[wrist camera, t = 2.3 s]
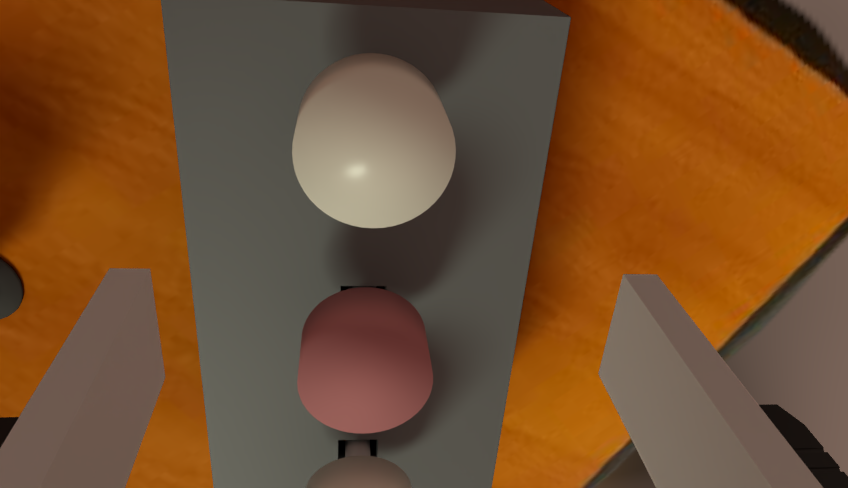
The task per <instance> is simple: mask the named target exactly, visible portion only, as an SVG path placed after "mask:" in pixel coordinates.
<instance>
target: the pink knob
mask: <svg viewBox="0 0 848 488" xmlns="http://www.w3.org/2000/svg"><path fill="white" fill-rule="evenodd" d="M348 288H349V289H347V290H343V291H340V292H338V293H335V294H333V295H331V296H329V297H328V298H326V299H325V300H323V301H322V302H320V303H319V304H318V305H317V306H316V307H315V308H314V309H313V310H312V312H311V313H310V314H309V316H308V318H307V319H306V321H305V324H304V326H303V331H302V338H301V348H300V358H299V369H298V380H297V386H298V393H299V396H300V399H301V401H302V403H303V405H304V406H305V408H306V409H307V410H308V412H309V413H310V414H311V415H312V416H313V417H315V418H316V419H317V420H318V421H320V422H321V423H323V424H325V425H327V426H329V427H331V428H334V429H337V430H340V431H344V432H349V433H361V434H365V433H375V432H381V431H385V430H389V429H391V428H394V427H397V426H399V425H401V424H403V423H404V422H406V421H407V420H409V419H411V418H412V417H413V416H414V415H415V414H417V413H418V412H419V410H420V409H421V408H422V407H423V406H424V404H425V403H426V401H427V399H428V398H429V396H430V393H431V390H432V385H433V372H432V365H431V360H430V354H429V348H428V343H427V337H426V331H425V326H424V323H423V320H422V318H421V316H420V314H419V313H418V311H417V310H416V308H415V307H414V306H413V305H412V304H411V303H410V302H408V301H407V300H406V299H405V298H403V297H401V296H400V295H398V294H395V293H393V292H391V291H388V290H384V289H380V288H376V286H348Z"/></svg>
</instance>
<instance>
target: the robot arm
mask: <svg viewBox="0 0 848 488" xmlns="http://www.w3.org/2000/svg"><path fill="white" fill-rule="evenodd" d="M599 376H600V378H601V380H602V382H603V384H604V386H605V388H606V390H607V392H608V394H609V396H610V398H611V400H612V402H613V404H614V406H615V407H616V409H617V411H618V413H619V415H620V417H621V419H622V421H623V423H624V425H625V427H626V429H627V431H628V433H629V435H630V437H631V439H632V441H633V443H634V445H635V447H636V449H637V451H638V453H639V455H640V457H641V459H642V461H643V462H644V465H645V467H646V469H647V470H648V473H649V475H650V476H651V478H652V480H653V482H654V484H655V486H656V488H848V476H847V475H846V474H845V473H844V472H840V469H839V466H838V464H837V463H836V462H835V461H834V460H833V458H832V457H831V456H830V455H829V454H828V453H827V452H824V450H823V446H822V445H821V444H820V443H819V442H818V441H817V439H816V438H815V437H814V436H813V434H812V433H811V432H810V431H809V430H808V428H807V427H806V426H805V425H804V424H803V423H801V422H800V421H799V420H797V419H796V418H795V417H793V416H792V415H790V414H789V413H788V412H786V411H785V410H783V409H782V408H781V407H779V406H778V405H758V404H757V402H756V401H755V400H754V399H753V397H752V396H751V395H750V393H749V392H748V391H747V390H746V388H745V387H744V386H743V385H742V383H741V382H740V381H739V379H738V378H737V377H736V375H735V374H734V373H733V372H732V370H731V369H730V368H729V367H728V365H727V364H726V363H725V361H724V360H723V359H722V358H721V356H720V355H719V354H718V352H717V351H716V350H715V349H714V347H713V346H712V345H711V343H710V342H709V341H708V340H707V338H706V337H705V336H704V334H703V333H702V332H701V331H700V329H699V328H698V327H697V326H696V324H695V323H694V322H693V320H692V319H691V318H690V317H689V315H688V314H687V313H686V311H685V310H684V309H683V308H682V306H681V305H680V304H679V303H678V301H677V300H676V299H675V297H674V296H673V295H672V294H671V292H670V291H669V290H668V288H667V287H666V286H665V285H664V283H663V282H662V281H661V279H660V278H659V277H658V276H657V275H648V274H623V277H622V281H621V285H620V289H619V293H618V297H617V301H616V305H615V309H614V313H613V317H612V321H611V325H610V330H609V334H608V338H607V342H606V346H605V350H604V354H603V358H602V362H601V366H600V370H599ZM164 379H165V372H164V365H163V358H162V351H161V344H160V337H159V329H158V322H157V315H156V308H155V301H154V294H153V287H152V279H151V272H150V269H116V268H110V269H109V270H108V272H107V274H106V275H105V277H104V279H103V280H102V282H101V284H100V285H99V287H98V288H97V290H96V292H95V293H94V295H93V297H92V298H91V300H90V302H89V303H88V305H87V307H86V308H85V310H84V311H83V313H82V315H81V316H80V318H79V320H78V321H77V323H76V325H75V326H74V328H73V329H72V331H71V333H70V334H69V336H68V338H67V339H66V341H65V343H64V344H63V346H62V348H61V349H60V351H59V352H58V354H57V356H56V357H55V359H54V361H53V362H52V364H51V366H50V367H49V369H48V371H47V372H46V374H45V375H44V377H43V379H42V380H41V382H40V384H39V385H38V387H37V389H36V390H35V392H34V394H33V395H32V397H31V398H30V400H29V402H28V403H27V405H26V407H25V408H24V410H23V412H22V413H21V415H20V416H19V417H7V418H0V488H125V486H126V483H127V481H128V478H129V475H130V472H131V470H132V467H133V464H134V461H135V459H136V456H137V453H138V450H139V448H140V445H141V442H142V439H143V437H144V434H145V431H146V429H147V426H148V423H149V420H150V418H151V415H152V412H153V409H154V407H155V404H156V401H157V398H158V396H159V393H160V390H161V387H162V385H163V382H164Z"/></svg>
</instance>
